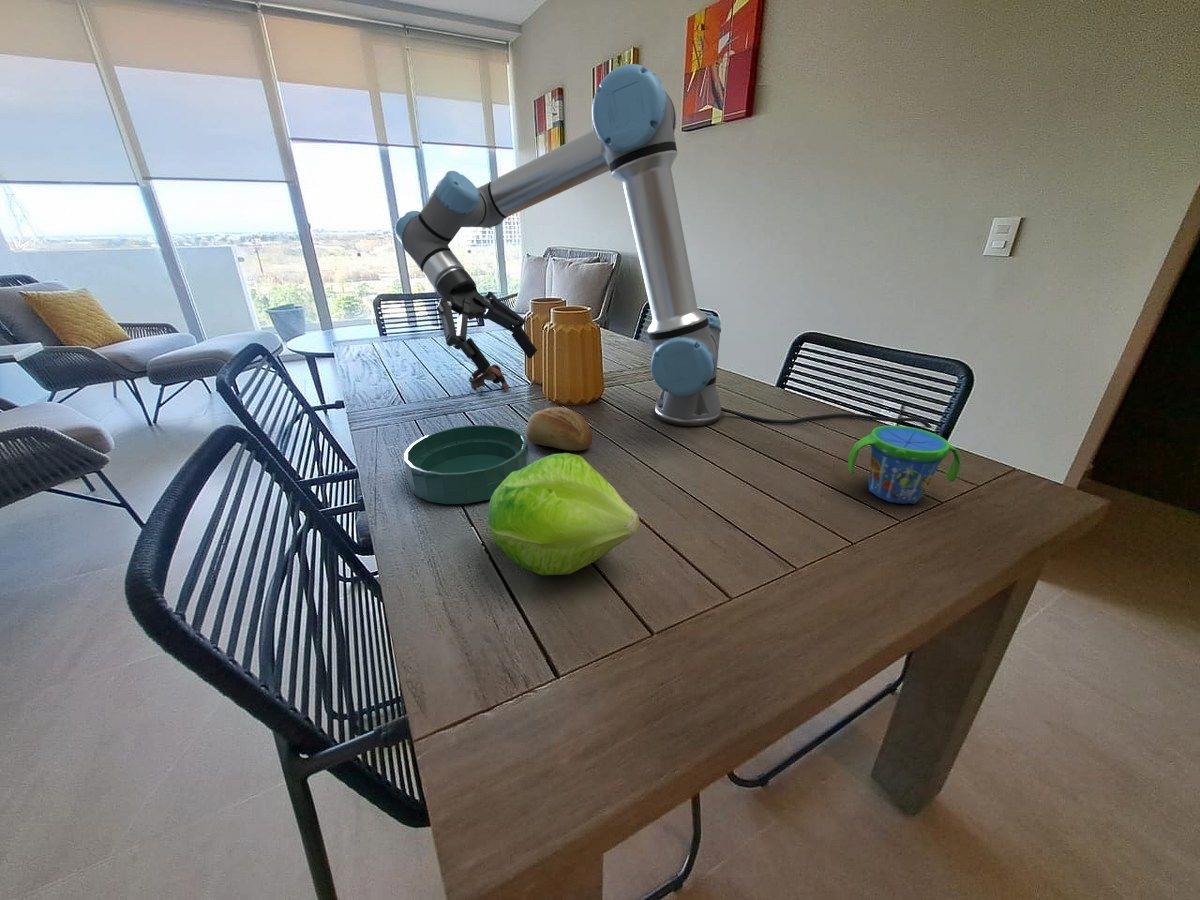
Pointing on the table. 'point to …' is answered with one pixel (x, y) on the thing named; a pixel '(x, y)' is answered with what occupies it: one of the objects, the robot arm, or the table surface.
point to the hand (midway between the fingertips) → (511, 361)
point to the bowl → (464, 462)
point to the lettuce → (558, 515)
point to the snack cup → (904, 462)
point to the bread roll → (559, 429)
